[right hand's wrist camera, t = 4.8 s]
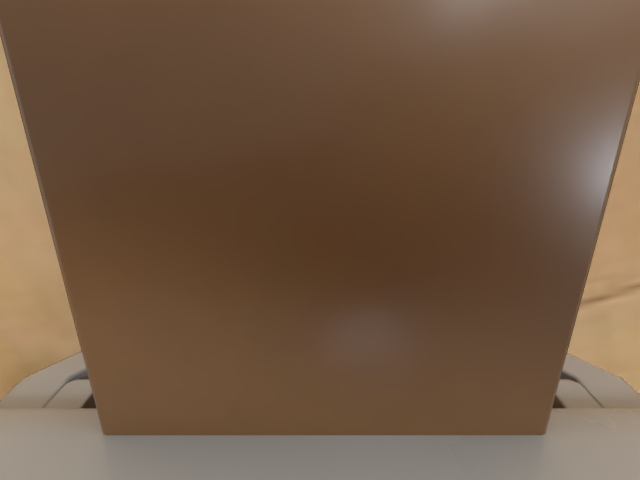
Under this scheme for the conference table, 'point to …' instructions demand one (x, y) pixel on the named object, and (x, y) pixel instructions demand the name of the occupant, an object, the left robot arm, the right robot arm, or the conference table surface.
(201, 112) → the post
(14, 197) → the conference table surface
